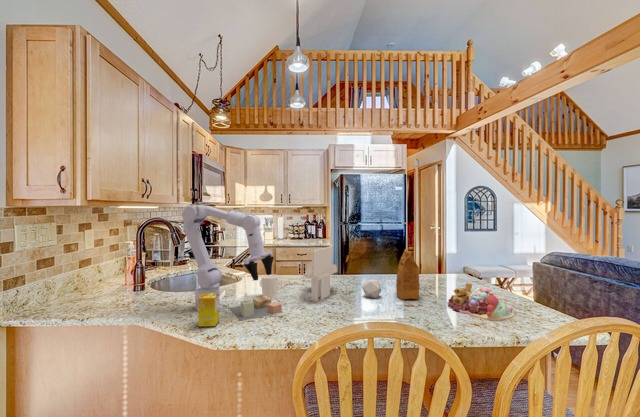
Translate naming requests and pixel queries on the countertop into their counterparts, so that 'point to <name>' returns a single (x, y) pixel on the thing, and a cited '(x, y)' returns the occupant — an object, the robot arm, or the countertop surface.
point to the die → (372, 288)
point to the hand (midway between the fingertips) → (262, 277)
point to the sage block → (247, 308)
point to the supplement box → (208, 310)
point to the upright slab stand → (320, 273)
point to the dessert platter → (479, 304)
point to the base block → (261, 302)
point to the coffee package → (407, 277)
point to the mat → (257, 314)
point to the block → (274, 307)
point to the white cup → (270, 285)
